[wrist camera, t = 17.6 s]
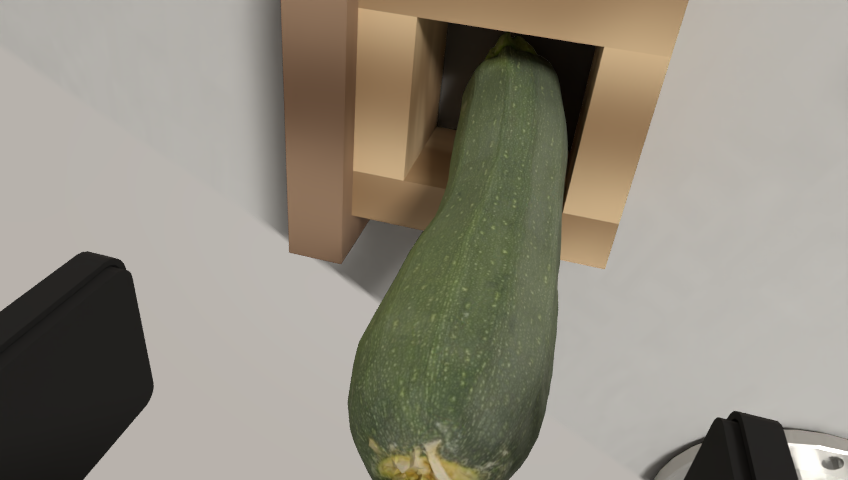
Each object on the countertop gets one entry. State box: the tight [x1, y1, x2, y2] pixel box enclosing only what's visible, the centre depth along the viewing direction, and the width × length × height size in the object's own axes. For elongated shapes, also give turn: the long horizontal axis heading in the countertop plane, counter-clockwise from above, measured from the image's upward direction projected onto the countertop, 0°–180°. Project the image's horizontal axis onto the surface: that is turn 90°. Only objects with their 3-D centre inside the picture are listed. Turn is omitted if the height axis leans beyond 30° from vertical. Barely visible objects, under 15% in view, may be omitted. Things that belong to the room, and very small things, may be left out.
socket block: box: [352, 0, 689, 269], centre depth 21 cm, size 9×9×5 cm
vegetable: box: [348, 32, 568, 480], centre depth 16 cm, size 4×4×20 cm
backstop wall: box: [281, 0, 370, 264], centre depth 22 cm, size 12×2×6 cm, turn 175°
